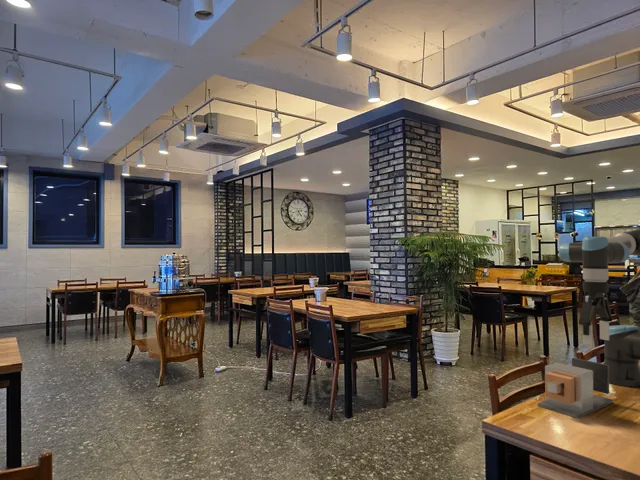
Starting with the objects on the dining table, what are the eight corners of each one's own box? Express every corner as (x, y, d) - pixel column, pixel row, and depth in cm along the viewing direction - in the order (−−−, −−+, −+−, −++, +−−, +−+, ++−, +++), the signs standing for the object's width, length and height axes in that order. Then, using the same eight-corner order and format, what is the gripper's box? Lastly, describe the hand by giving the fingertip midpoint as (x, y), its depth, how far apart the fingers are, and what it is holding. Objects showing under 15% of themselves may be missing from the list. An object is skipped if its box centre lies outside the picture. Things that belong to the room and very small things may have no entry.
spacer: (550, 395, 147) (550, 372, 147) (574, 402, 140) (574, 377, 140) (545, 396, 145) (545, 373, 145) (570, 403, 139) (569, 379, 139)
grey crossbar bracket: (573, 384, 160) (573, 357, 160) (609, 393, 150) (609, 365, 150) (534, 397, 145) (534, 368, 145) (571, 409, 135) (570, 377, 135)
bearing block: (574, 392, 161) (574, 357, 162) (613, 402, 151) (612, 364, 151) (537, 405, 147) (537, 367, 147) (577, 418, 136) (577, 376, 136)
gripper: (598, 278, 158) (599, 335, 157) (566, 281, 143) (567, 344, 143) (622, 279, 152) (623, 339, 151) (591, 283, 137) (592, 349, 137)
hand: (596, 342), depth 147 cm, fingers open, 13 cm apart
